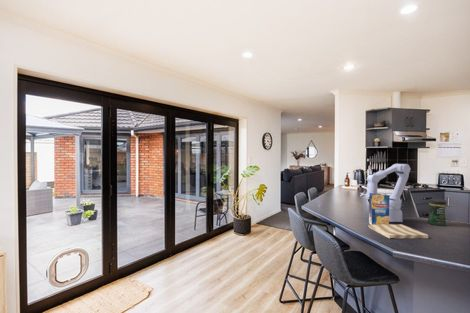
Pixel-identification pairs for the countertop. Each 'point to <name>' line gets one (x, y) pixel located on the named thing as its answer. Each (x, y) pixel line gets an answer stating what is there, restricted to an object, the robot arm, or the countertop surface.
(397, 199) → the robot arm
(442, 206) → the coffee jar
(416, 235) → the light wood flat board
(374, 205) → the beverage box
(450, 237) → the countertop surface
